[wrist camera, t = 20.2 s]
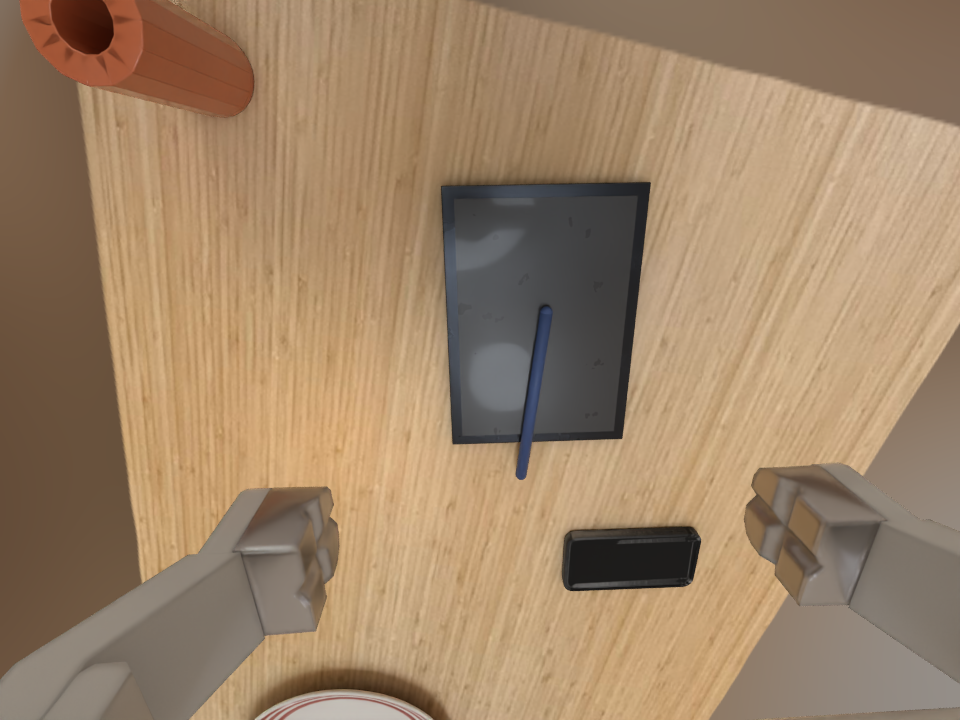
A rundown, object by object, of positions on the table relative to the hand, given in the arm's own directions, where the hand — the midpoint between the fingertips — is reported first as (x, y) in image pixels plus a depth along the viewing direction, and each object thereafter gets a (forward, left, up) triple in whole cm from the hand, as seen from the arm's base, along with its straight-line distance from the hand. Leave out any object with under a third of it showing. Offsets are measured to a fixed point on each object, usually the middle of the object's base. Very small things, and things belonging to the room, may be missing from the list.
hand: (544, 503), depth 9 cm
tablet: (+7, +5, -33) cm, 34 cm away
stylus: (+14, +5, -32) cm, 35 cm away
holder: (-13, -20, -33) cm, 41 cm away
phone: (+35, +16, -33) cm, 51 cm away
